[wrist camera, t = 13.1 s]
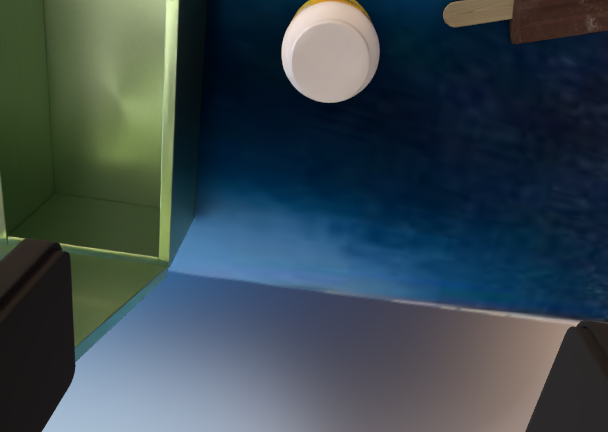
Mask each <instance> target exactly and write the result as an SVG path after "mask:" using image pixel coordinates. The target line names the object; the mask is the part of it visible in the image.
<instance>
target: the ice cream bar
mask: <svg viewBox="0 0 608 432" xmlns="http://www.w3.org/2000/svg"><path fill="white" fill-rule="evenodd" d="M443 19H444V21H445V23H446V24H448V25H449V26H451V27H461V26H468V25H474V24H481V23H487V22H493V21H500V20H506V19H509V30H510V37H511V42H512V43H514V44H521V43H528V42H535V41H541V40H548V39H555V38H561V37H568V36H575V35H581V34H588V33H595V32H601V31H608V0H462V1H456V2H452V3H450V4H449V5H447V6H446V8H445V9H444V12H443Z"/></svg>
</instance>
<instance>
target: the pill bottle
mask: <svg viewBox="0 0 608 432" xmlns="http://www.w3.org/2000/svg"><path fill="white" fill-rule="evenodd" d="M379 55H380V48H379V41H378V36H377V33H376V31H375V28H374V26H373V24H372V22H371V19H370V17H369V15H368V13H367V12H366V11H365V9H364V8H363V7H362V6H361V5H360V4H359V3H358V2H357V1H355V0H308V1H307V2H306V3H305V4H303V5H302V6H301V7H300V8H299V10H298V11H297V13H296V14H295V16H294V18H293V20H292V21H291V23H290V25H289V26H288V28H287V30H286V33H285V35H284V39H283V43H282V63H283V67H284V71H285V73H286V75H287V77H288V79H289V81H290V82H291V83H292V85H293V86H294V87H295V88H296V89H297V90H298V91H299V92H300V93H302V94H303V95H305V96H306V97H308V98H310V99H312V100H315V101H319V102H325V103H335V102H340V101H344V100H347V99H349V98H351V97H353V96H355V95H356V94H358V93H359V92H361V91H362V90H363V89H364V88H365V87H366V86H367V85H368V84H369V82H370V81H371V79H372V78H373V76H374V74H375V72H376V69H377V66H378V62H379Z"/></svg>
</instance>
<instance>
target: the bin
mask: <svg viewBox="0 0 608 432" xmlns="http://www.w3.org/2000/svg"><path fill="white" fill-rule="evenodd" d="M206 12H207V0H0V243H1V244H9V245H16V246H17V245H18V244H19V243H20V242H21V241H22V240H24V239H25V238H32V239H38V240H45V241H52V242H58V243H59V244H60V245H61V248H62V251H66V252H68V253H74V254H81V255H89V256H96V257H103V258H110V259H118V260H125V261H132V262H139V263H147V264H154V265H161V266H167V267H168V268H169V267H170V265H171V263H172V261H173V259H174V257H175V255H176V253H177V251H178V249H179V247H180V245H181V243H182V241H183V239H184V237H185V235H186V233H187V231H188V229H189V227H190V225H191V223H192V221H193V219H194V217H195V207H196V189H197V171H198V154H199V136H200V118H201V100H202V83H203V65H204V47H205V30H206Z"/></svg>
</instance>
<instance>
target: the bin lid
mask: <svg viewBox="0 0 608 432" xmlns="http://www.w3.org/2000/svg"><path fill="white" fill-rule="evenodd" d="M15 247H16V245H9V244H1V243H0V261H1V260H2V259H3V258H4V257H5V256H6V255H7V254H8V253H9V252H10V251H12V250H13V249H14V248H15ZM69 254H70V259H71V278H72V300H73V322H74V345H75V362H76V361H77V360H78V359H79V358H80V357H81V356H82V355H83V354H84V353H86V352H87V351H88V350H89V349H90V348H91V347H92V346H93V345H94V344H95V343H96V342H97V341H98V340H99V339H100V338H102V337H103V336H104V335H105V334H106V333H107V332H108V331H109V330H110V329H111V328H112V327H113V326H114V325H116V324H117V323H118V322H119V321H120V320H121V319H122V318H123V317H124V316H125V315H126V314H127V313H128V312H129V311H130V310H131V309H133V308H134V307H135V306H136V305H137V304H138V303H139V302H140V301H141V300H142V299H143V298H144V297H145V296H147V295H148V294H149V293H150V292H151V291H152V290H153V289H154V288H155V287H156V286H157V285H158V284H159V283H160V282H161V281H163V280H164V279H165V278H166V277H167V271H168V267H167V266H161V265H154V264H147V263H139V262H132V261H125V260H118V259H110V258H103V257H96V256H89V255H81V254H74V253H69Z"/></svg>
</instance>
